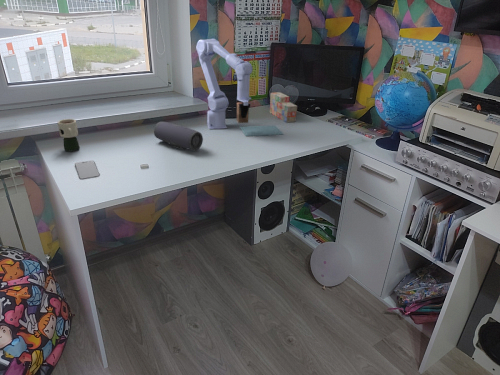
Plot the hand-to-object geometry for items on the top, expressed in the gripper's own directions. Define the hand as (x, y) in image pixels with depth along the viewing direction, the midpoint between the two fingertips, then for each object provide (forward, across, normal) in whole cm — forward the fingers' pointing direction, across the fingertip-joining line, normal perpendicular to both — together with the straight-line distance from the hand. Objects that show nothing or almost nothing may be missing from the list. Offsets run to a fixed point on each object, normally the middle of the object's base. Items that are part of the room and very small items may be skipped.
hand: (242, 116), depth 188 cm
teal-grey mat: (+9, +3, -11) cm, 15 cm away
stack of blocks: (+10, +27, -30) cm, 42 cm away
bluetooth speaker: (+10, -13, +33) cm, 37 cm away
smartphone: (+10, -35, +70) cm, 78 cm away
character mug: (+10, -12, +79) cm, 80 cm away
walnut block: (+3, 0, 0) cm, 3 cm away
